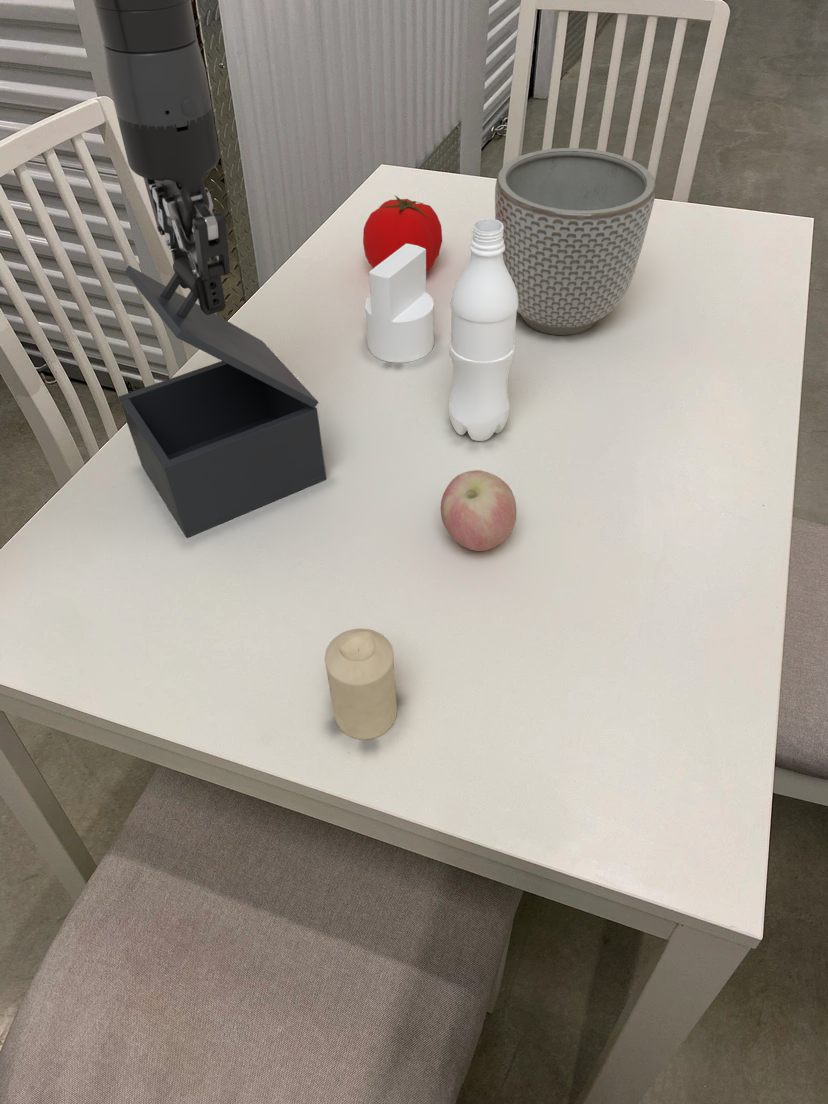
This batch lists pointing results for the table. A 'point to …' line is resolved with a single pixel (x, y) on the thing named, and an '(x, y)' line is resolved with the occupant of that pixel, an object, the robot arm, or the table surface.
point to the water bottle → (482, 336)
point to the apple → (478, 510)
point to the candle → (362, 683)
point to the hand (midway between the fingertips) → (202, 297)
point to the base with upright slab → (400, 307)
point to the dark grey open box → (222, 444)
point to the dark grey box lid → (215, 331)
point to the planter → (572, 233)
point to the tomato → (401, 230)
